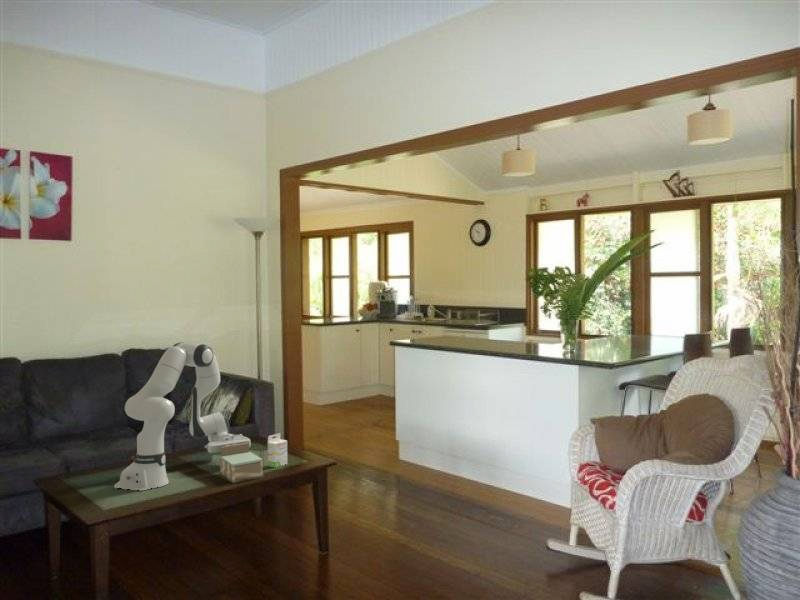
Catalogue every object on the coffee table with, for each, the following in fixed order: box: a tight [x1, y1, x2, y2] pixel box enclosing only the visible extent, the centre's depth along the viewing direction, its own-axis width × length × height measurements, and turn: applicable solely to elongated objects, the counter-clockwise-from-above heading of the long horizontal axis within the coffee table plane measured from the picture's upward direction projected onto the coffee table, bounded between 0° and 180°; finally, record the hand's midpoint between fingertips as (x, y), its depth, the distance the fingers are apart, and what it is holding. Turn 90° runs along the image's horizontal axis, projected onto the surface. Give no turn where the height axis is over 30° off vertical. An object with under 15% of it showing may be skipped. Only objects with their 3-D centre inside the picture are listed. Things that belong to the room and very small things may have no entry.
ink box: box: [267, 432, 288, 469], centre depth 315 cm, size 9×5×15 cm, turn 143°
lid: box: [219, 443, 264, 466], centre depth 299 cm, size 18×14×5 cm
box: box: [219, 457, 264, 484], centre depth 300 cm, size 18×14×7 cm
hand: (234, 448), depth 307 cm, fingers closed, pressing on lid
